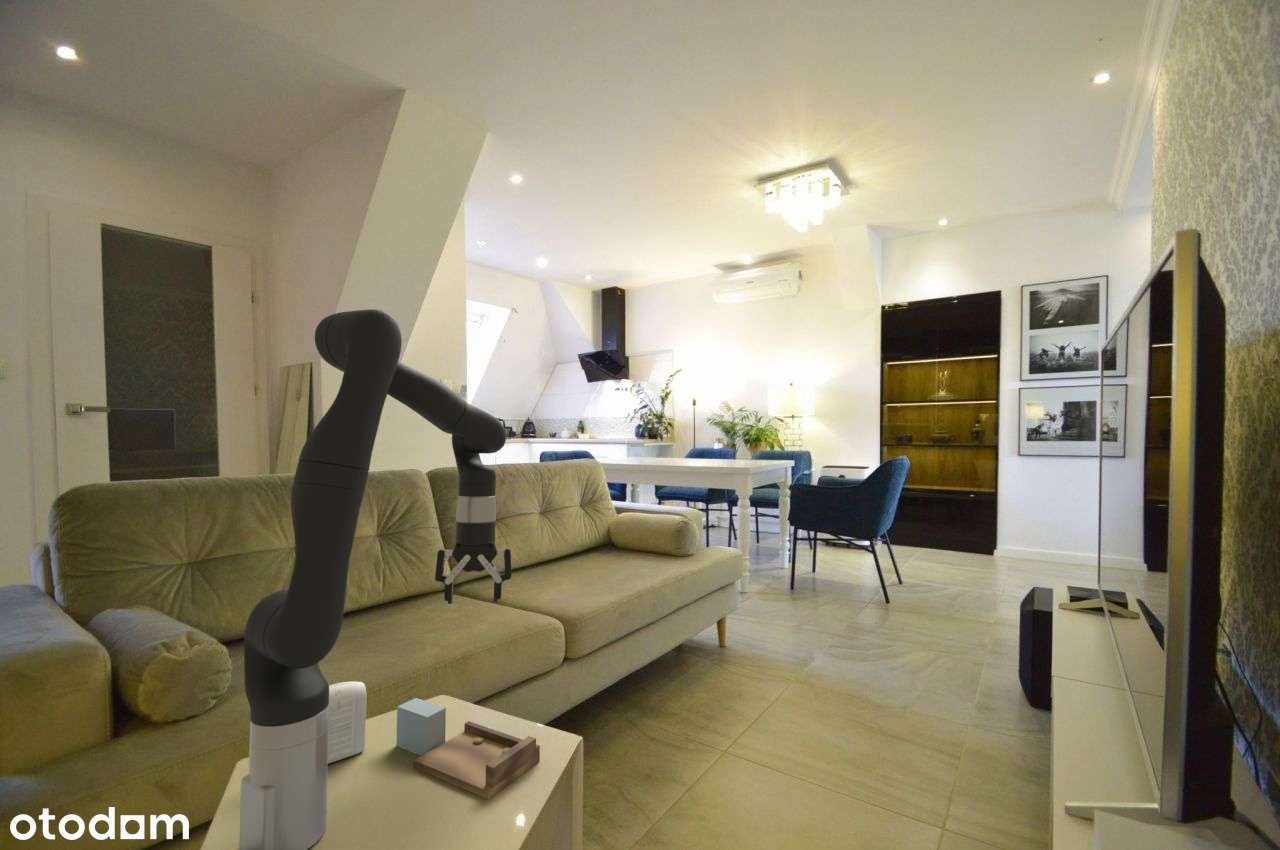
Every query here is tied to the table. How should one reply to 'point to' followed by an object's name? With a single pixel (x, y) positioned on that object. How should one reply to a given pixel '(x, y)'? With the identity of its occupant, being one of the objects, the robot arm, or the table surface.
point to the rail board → (480, 759)
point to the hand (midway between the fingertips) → (473, 602)
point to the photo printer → (346, 720)
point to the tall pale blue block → (420, 726)
